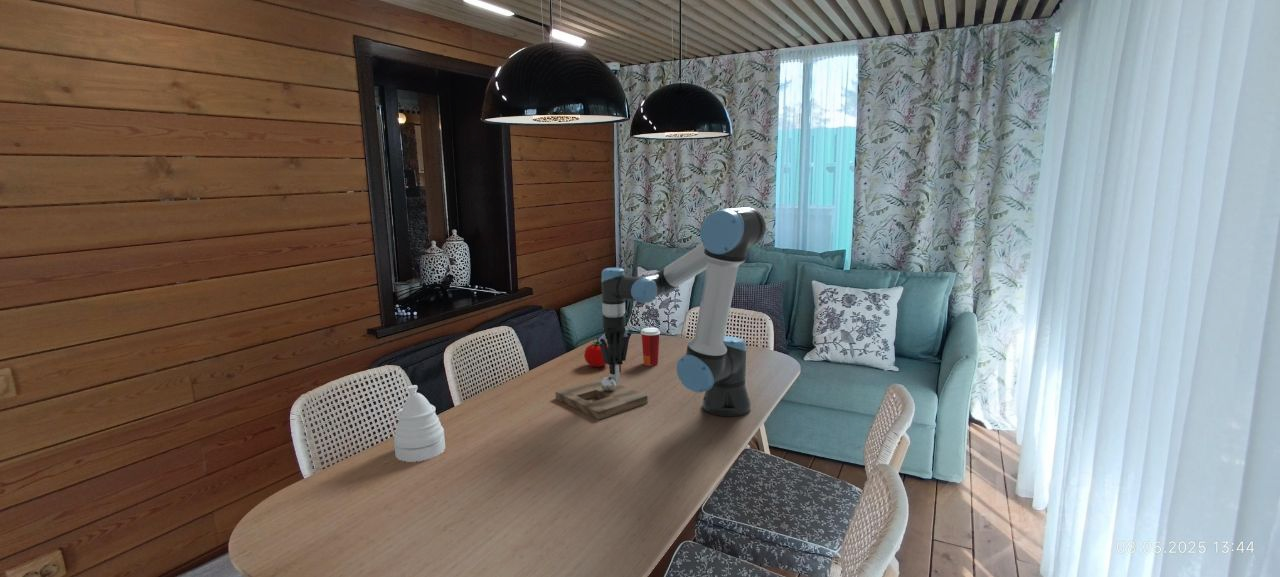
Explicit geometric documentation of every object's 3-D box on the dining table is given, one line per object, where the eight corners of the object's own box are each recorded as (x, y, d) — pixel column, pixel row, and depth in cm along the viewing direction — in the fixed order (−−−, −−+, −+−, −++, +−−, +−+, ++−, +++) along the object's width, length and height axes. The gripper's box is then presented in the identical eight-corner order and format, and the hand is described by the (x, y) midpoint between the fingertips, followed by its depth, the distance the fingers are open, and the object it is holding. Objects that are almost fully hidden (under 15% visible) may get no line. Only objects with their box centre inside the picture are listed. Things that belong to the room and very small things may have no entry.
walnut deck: (647, 403, 192) (647, 395, 192) (598, 419, 180) (598, 412, 179) (603, 384, 210) (603, 377, 210) (555, 398, 198) (555, 391, 197)
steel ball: (621, 381, 196) (610, 375, 194) (614, 395, 195) (604, 389, 192) (612, 378, 200) (602, 372, 197) (606, 391, 199) (595, 386, 196)
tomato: (593, 360, 238) (592, 336, 236) (616, 364, 233) (615, 339, 231) (579, 368, 229) (578, 343, 227) (603, 371, 224) (602, 346, 222)
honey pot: (388, 450, 162) (382, 388, 159) (434, 436, 170) (429, 377, 167) (404, 466, 152) (398, 401, 149) (452, 451, 160) (447, 389, 157)
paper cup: (661, 361, 236) (660, 327, 233) (659, 367, 229) (659, 332, 226) (641, 360, 237) (641, 327, 234) (639, 366, 229) (639, 332, 227)
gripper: (622, 309, 201) (623, 375, 206) (591, 315, 193) (593, 384, 197) (636, 313, 195) (637, 380, 200) (604, 320, 187) (606, 390, 192)
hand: (615, 382), depth 199 cm, fingers closed
